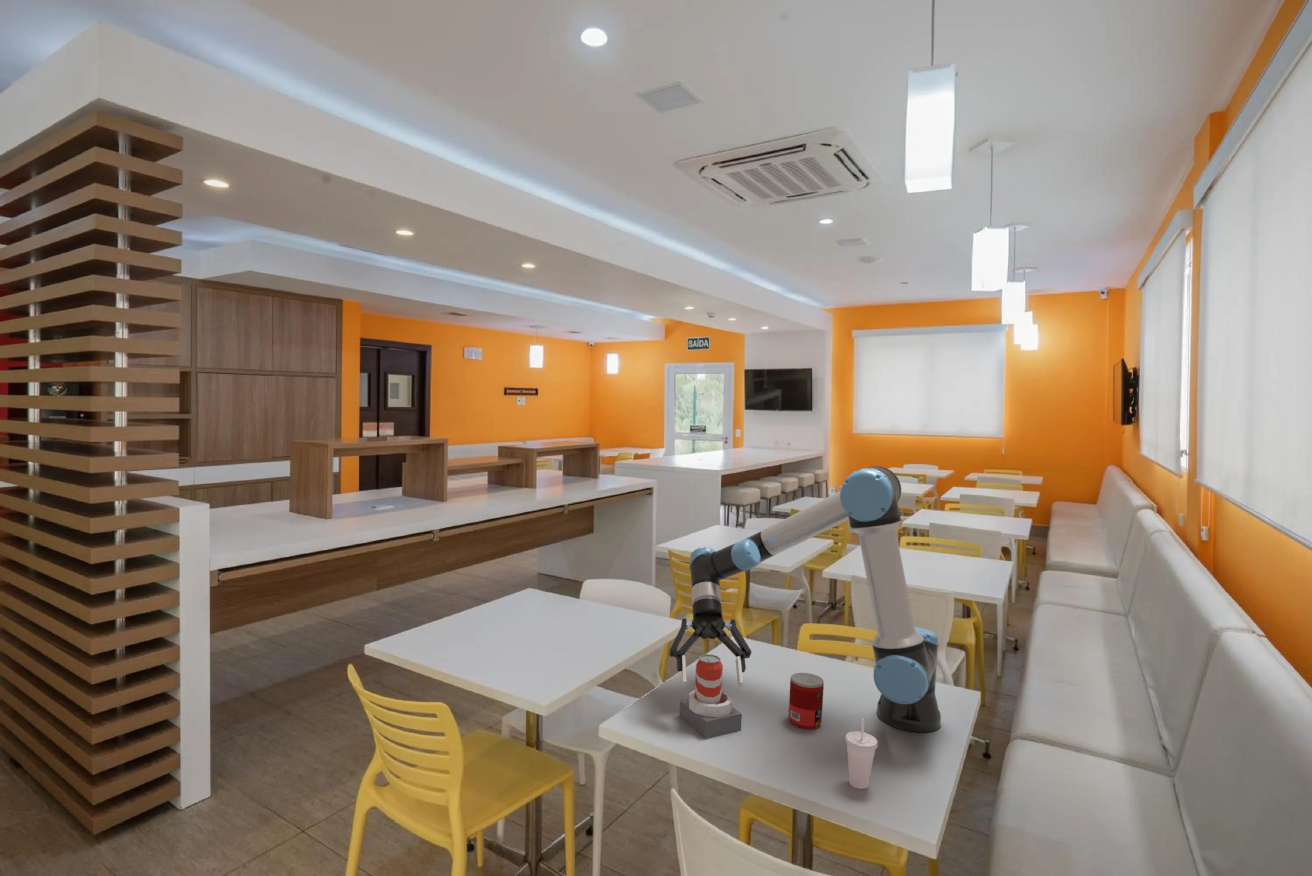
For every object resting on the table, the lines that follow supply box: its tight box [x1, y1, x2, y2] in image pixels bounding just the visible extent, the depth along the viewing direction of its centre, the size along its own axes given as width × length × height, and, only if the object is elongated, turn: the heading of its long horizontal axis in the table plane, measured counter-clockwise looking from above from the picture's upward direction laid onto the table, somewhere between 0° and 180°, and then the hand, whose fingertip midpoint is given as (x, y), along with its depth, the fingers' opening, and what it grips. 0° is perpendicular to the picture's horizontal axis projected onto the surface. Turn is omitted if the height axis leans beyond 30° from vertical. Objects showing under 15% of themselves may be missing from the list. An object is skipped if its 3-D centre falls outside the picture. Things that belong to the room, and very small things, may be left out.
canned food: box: [788, 672, 825, 730], centre depth 166 cm, size 8×8×11 cm
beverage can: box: [694, 654, 724, 704], centre depth 163 cm, size 6×6×12 cm
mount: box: [678, 689, 743, 739], centre depth 164 cm, size 12×10×6 cm
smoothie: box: [844, 718, 878, 790], centre depth 140 cm, size 6×6×14 cm
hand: (712, 684), depth 162 cm, fingers open, 13 cm apart
